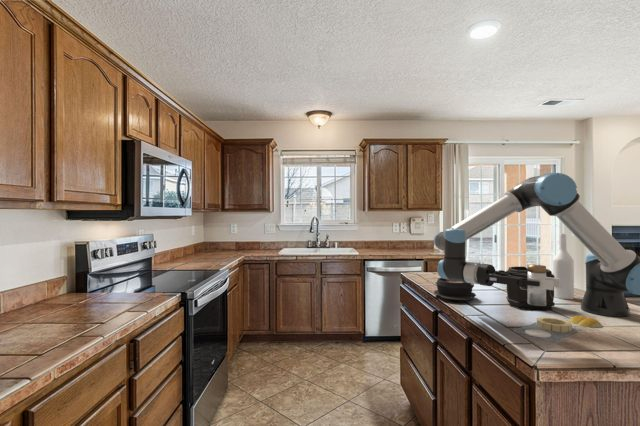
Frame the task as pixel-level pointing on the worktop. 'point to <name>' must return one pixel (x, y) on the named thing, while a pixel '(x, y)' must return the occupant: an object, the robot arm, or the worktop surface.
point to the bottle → (563, 271)
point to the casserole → (454, 290)
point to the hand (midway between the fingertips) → (556, 284)
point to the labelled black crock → (519, 294)
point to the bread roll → (585, 321)
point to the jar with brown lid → (536, 294)
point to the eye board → (548, 329)
